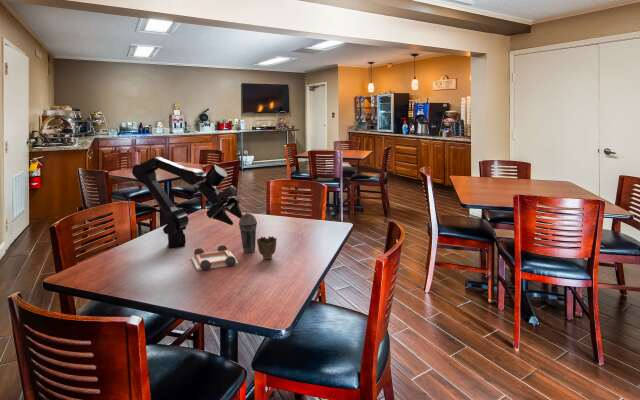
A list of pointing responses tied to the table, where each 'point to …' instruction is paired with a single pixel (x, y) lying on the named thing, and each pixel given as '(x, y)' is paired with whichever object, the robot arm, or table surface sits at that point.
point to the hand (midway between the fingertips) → (238, 221)
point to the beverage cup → (248, 232)
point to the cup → (267, 247)
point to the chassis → (213, 258)
